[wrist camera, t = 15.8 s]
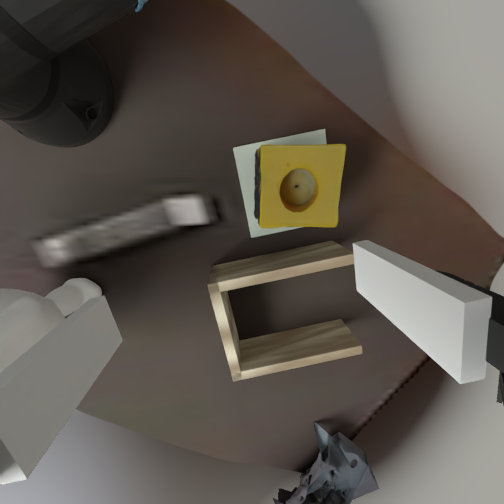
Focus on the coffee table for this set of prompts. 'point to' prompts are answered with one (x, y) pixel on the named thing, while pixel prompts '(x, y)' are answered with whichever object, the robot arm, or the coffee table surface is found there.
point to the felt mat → (247, 173)
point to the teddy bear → (37, 315)
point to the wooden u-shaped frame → (286, 342)
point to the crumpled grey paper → (333, 474)
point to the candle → (298, 185)
